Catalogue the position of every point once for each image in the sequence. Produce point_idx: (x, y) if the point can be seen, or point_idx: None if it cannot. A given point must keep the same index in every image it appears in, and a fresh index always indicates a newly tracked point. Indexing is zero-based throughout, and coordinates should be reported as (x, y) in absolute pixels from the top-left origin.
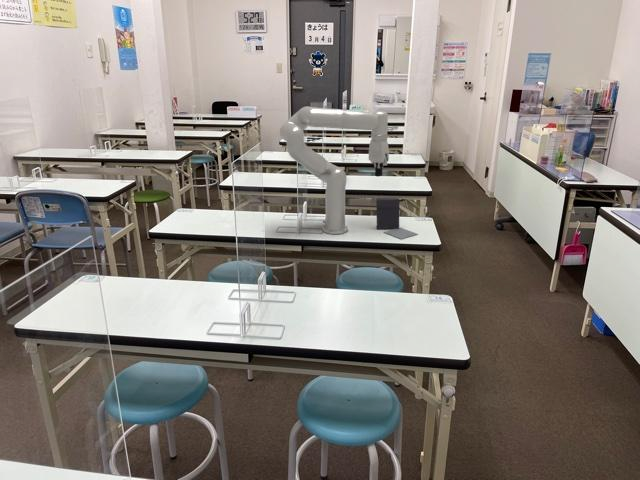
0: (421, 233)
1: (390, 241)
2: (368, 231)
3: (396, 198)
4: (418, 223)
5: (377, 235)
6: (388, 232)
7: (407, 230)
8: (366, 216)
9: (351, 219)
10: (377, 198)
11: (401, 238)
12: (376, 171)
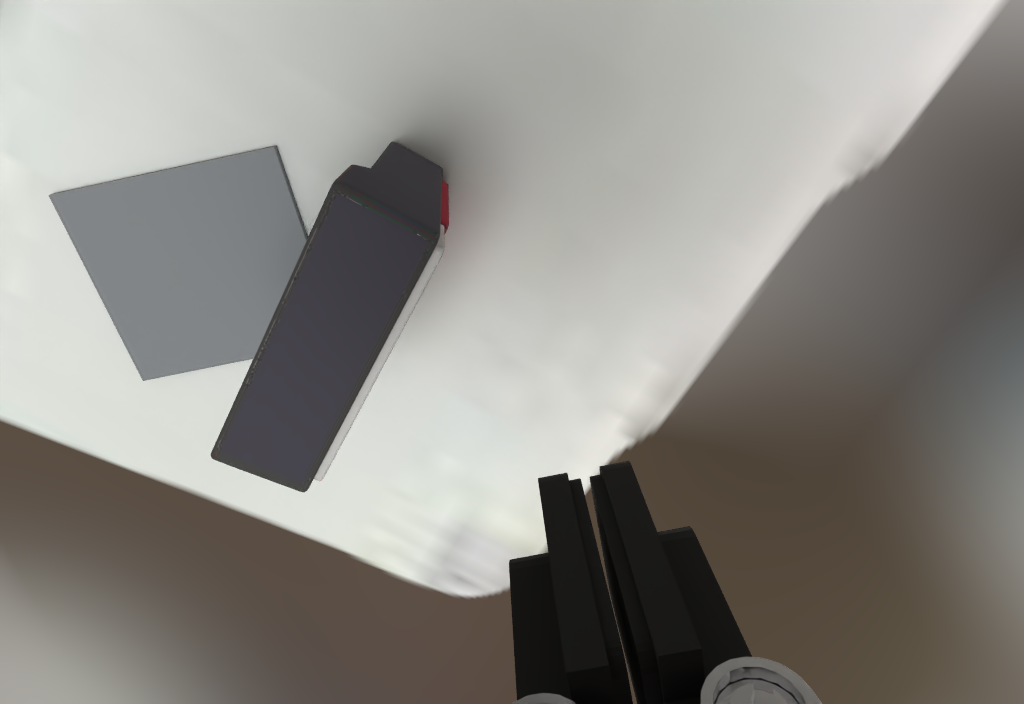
0: (169, 414)
1: (24, 74)
2: (369, 26)
3: (272, 454)
4: (396, 507)
5: (225, 48)
6: (248, 182)
7: (248, 353)
8: (772, 247)
9: (787, 61)
10: (416, 241)
11: (57, 202)
12: (614, 569)
